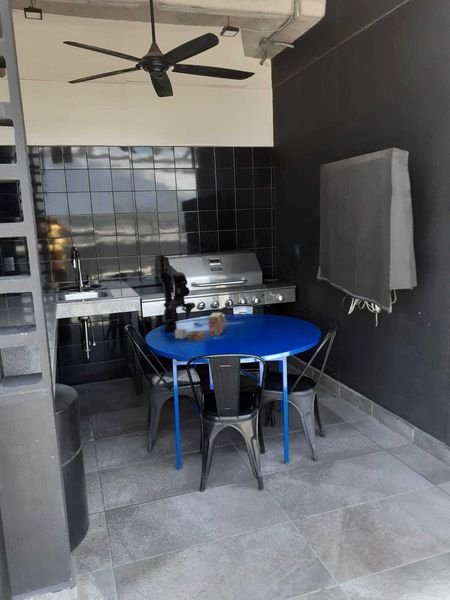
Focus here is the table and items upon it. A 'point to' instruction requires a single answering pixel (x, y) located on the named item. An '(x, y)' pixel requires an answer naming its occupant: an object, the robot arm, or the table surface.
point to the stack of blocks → (216, 324)
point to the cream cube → (180, 333)
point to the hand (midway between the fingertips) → (180, 318)
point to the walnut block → (196, 336)
